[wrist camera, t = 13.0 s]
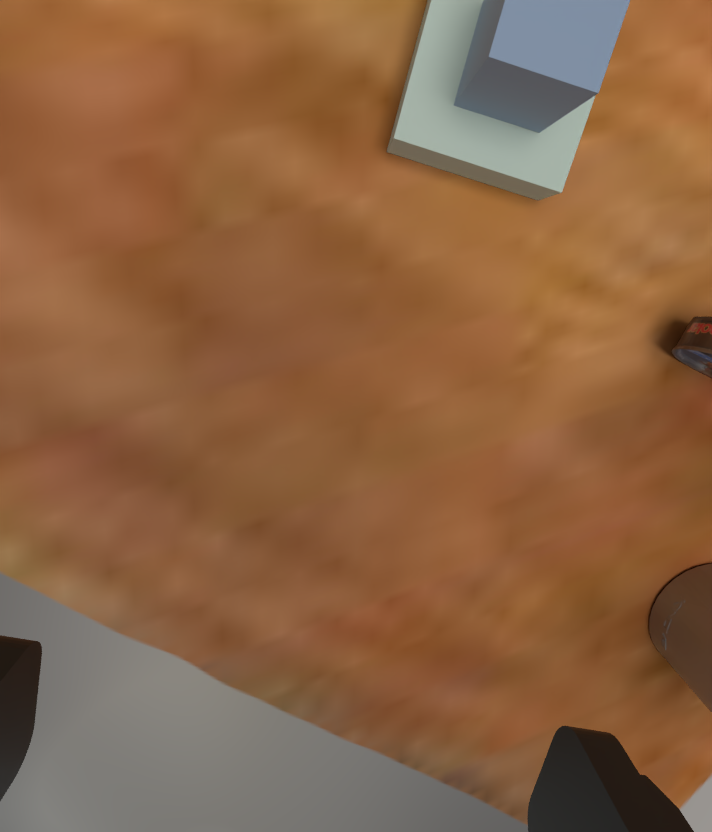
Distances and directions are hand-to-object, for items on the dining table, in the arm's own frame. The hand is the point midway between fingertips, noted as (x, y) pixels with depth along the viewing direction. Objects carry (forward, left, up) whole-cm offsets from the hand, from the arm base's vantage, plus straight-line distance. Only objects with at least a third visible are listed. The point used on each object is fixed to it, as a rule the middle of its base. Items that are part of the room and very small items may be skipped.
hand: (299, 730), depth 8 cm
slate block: (-7, -19, -26) cm, 33 cm away
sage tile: (-7, -19, -30) cm, 36 cm away
